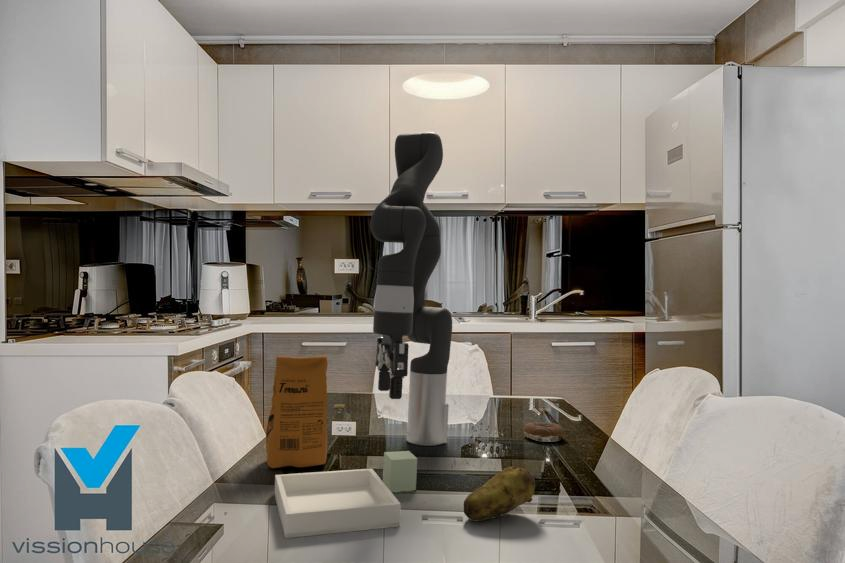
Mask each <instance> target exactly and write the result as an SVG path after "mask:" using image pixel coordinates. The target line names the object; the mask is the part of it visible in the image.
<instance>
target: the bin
mask: <svg viewBox="0 0 845 563" xmlns="http://www.w3.org/2000/svg"><path fill="white" fill-rule="evenodd" d="M273 495H274V500H275V502H276V503H275V504H276V507H277V511H278V515H279V520H280V523H281V527H282V530H283V531H282V532H283V536H284V538H285V539H292V538H300V537H302V538H303V537H309V536H310V537H311V536H318V535H319V536H320V535H329V534H330V535H331V534H339V533H349V532H358V531H359V532H360V531H367V530H368V531H369V530H376V529H377V530H378V529H388V528H389V529H390V528H394V527H395V528H396V527H397V528H398V527H400V525H401V524H400V523H401V508H402V507H401V502H400V501H399V499H397V497H396V496H395V495H394V494H393V493H391V491H390V490H389V489H388V488H387V486H386V485H385V484H384V483H383V479H381V478H380V476H379V475H378V474H377V472H376V471H375V470H374V469H373V468H361V469H360V468H359V469H347V470H343V469H342V470H332V471H331V470H330V471H314V472H312V471H311V472H302V473H301V472H298V473H287V474H286V473H285V474H284V473H283V474H275V475H274V494H273Z"/></svg>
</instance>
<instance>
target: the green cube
mask: <svg viewBox="0 0 845 563" xmlns="http://www.w3.org/2000/svg"><path fill="white" fill-rule="evenodd" d="M417 473H418V457H416V456H415V454H413V453H412V452H411V451H410V450H402V451H401V450H400V451H399V450H398V451H384V452H383V468H382V481H383V483H384V484H385V485H386V486H387V488H388V489H389V490H390V491H391V493H392V494H393V492H394V493H402V492H401V491H406V492H415V491H414V490H416V491H417V477H418V476H417V475H418V474H417ZM412 490H413V491H412Z"/></svg>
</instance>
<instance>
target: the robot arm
mask: <svg viewBox="0 0 845 563" xmlns="http://www.w3.org/2000/svg"><path fill="white" fill-rule="evenodd" d="M443 147H444V146H443V143H442V139H441V136H440V135H439V134H438V133H437V132H432V131H423V132H421V131H420V132H410V133H401V134H398V135H397V136H396V138H395V140H394V158H395V160H394V161H395V167H396V174H397V178H396V180H394V183H393V186H391V190H390V194H388V195H387V196H386V197H385V198H384V199H383V200H382V201H380V202H379V204H378V205H377V206H376V207H375V209H374V210H373V213H372V215H371V217H370V221H369V222H370V223H369V225H370V226H369V227H370V232H371V234H372V236H373V237H374V239H376V240H377V241H379V242H381V243H394V244H395V243H397V244H402V249H401V250H400V251H398V252H395V253H390V254H384V255H382V256H380V257H379V259H378V263H377V276H376V277H377V278H376V290H375V295H374V305H373V306H374V307H373V308H374V309H373V321H372V322H373V323H372V332H373V333H374V334H376V335H378V337H377V340H376V342H377V343H376V355H375V367H377V371H378V382H377V383H378V385H377V390H378V391H380V392H389V393H388V396H389V398H390V399H391V400H401V399H402V396H403V395H402V394H403V379H405V377H407V376H408V373H409V383H408V385H409V386H408V390H409V391H408V405H407V406H408V408H407V409H408V410H407V428H406V430H407V431H406V441H407V442H408V443H410V444H413V445H418V446H423V447H424V446H426V447H427V446H430V447H431V446H438V445H442V444H447V443H448V429H449V428H448V425H449V404H448V403H447V382H448V380H447V379H448V366H449V360H450V358H451V346H452V345H451V344H452V334H453V317H452V314H451V312H450V311H449V309H447V308H446V307H434V306H426V304H425V302H426V301H425V299H426V298H425V297H426V296H425V295H426V287H427V284H428V282H429V279H430V277H431V276H432V273H433V272H434V270H435V269H436V266H437V264H438V263H439V260H440V257H441V255H442V254H441V253H442V250H441V249H442V247H441V245H442V244H441V229H440V226H439V223H438V221H437V219H436V218H435V216H434V214H432V212H431V211H430V209H429V208H428V207H427V205H426V204H425V203H424V200H425V197H426V194H427V190H428V188H429V187H430V185H431V183H432V182H433V180H434V179H435V177H436V175H438V172H439V171H440V169H441V167H442V163H443V157H444V149H443ZM379 335H382V336H380V337H379ZM403 337H407V338H408V339H409V341H410V342H413V343H418V344H423V345H424V344H425V345H429V350H428V352H426V353H425V354H424V355H422V356H418V357H414V358H412V359H411V361H410V366H409V348H410V346H409V343H408V342H403V339H404V338H403ZM408 366H409V367H410V368H409V369H410V370H408ZM408 371H409V372H408Z"/></svg>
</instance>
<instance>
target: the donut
mask: <svg viewBox="0 0 845 563" xmlns="http://www.w3.org/2000/svg"><path fill="white" fill-rule="evenodd" d="M523 427H524V428H523V431H522V432H523V434H524V433H525V434H527V435H530V436H534V437H541V438H552V437H559V436H562V435H564V433H565V430H564V428H563V427H562V426H561V425H560V424H557V423H554V422H553V423H552V422H530V423H526V424H525V425H524V426H523ZM564 436H565V435H564Z"/></svg>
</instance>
